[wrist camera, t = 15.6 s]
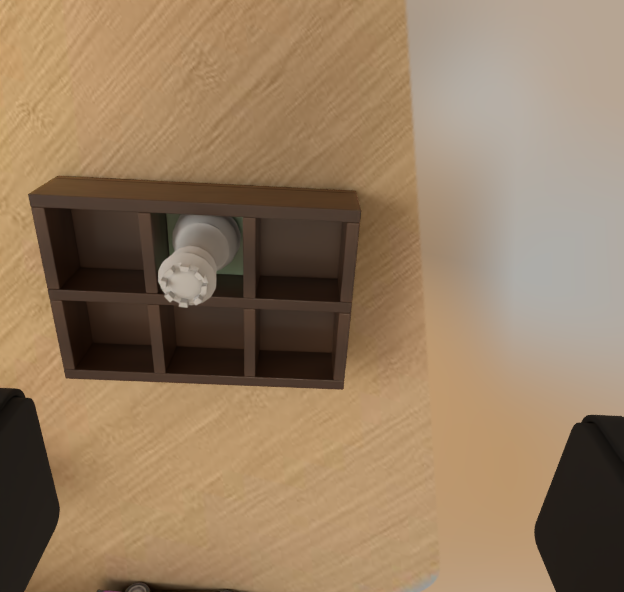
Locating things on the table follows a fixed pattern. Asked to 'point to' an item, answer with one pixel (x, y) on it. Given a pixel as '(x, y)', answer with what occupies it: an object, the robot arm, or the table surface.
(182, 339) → the rack
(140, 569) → the table surface
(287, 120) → the table surface
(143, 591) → the toy truck
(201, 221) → the rook chess piece
